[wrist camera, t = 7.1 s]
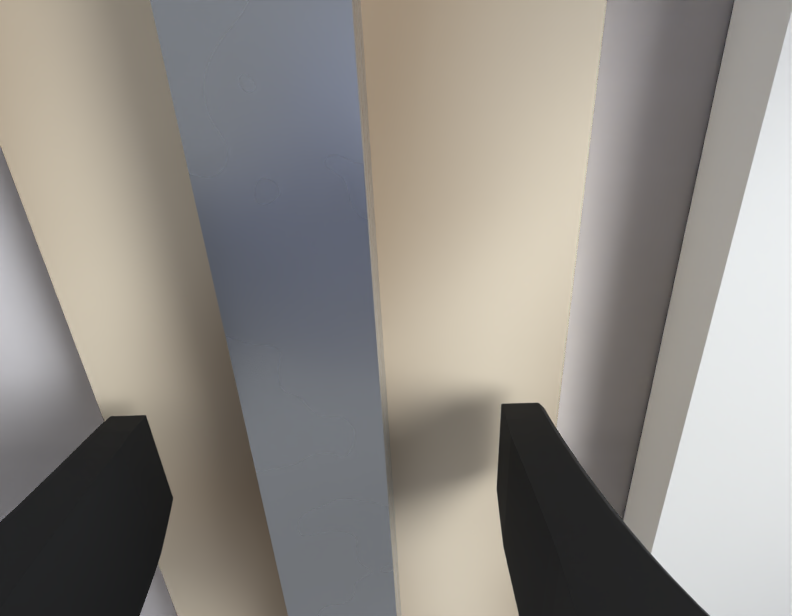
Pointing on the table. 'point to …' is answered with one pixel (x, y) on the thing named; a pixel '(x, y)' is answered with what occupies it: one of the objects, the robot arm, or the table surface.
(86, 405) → the table surface
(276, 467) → the steel rail
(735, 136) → the bracket stand
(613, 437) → the table surface
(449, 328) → the beech board
